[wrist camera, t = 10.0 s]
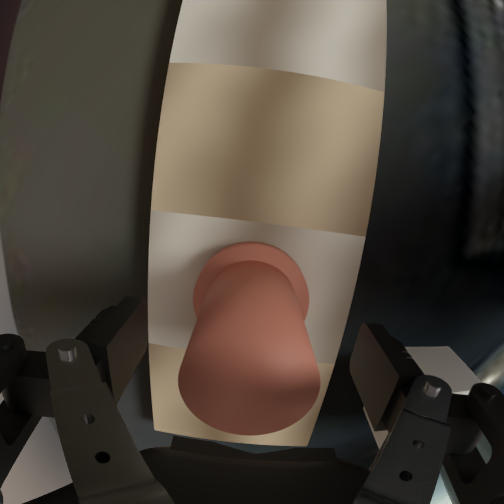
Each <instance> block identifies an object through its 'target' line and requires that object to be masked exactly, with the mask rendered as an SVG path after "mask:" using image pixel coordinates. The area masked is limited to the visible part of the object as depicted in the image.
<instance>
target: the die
mask: <svg viewBox="0 0 504 504" xmlns="http://www.w3.org/2000/svg"><path fill="white" fill-rule="evenodd" d="M405 348H406V350H407V353H409V354H410V355H411V356H412V359H414V360H415V362H416V363H417V365H418V366H419V367H420V369H421V370H422V371H423V373H424V374H425V375H432V376H436V377H438V378H440V379H442V380H444V381H445V382H447V383H448V384H449V386H450V387H451V389H452V393H455V394H463V395H468V394H469V392H470V390H471V388H472V386H473V385H474V384H476V383H482V382H481V381H480V380H479V379H478V377H477V376H476V375H475V374H474V373H473V372H472V371H471V370H470V369H469V368H468V367H467V365H466V364H465V363H464V362H463V361H462V360H461V359H460V358H459V357H458V356H457V355H456V354H455V353H454V352H453V350H452V349H451V348H450V347H449V346H443V347H405ZM363 410H364V413H365V415H366V418H367V420H368V423H369V425H370V428H371V430H372V433H373V435H374V438H375V440H376V443H377V445H378V448H379V450H380V448H381V446H382V444H383V442H384V440H385V438H386V437H387V435H388V431H387V430H385V431H374V429H373V427H372V424H371V422H370V419H369V417H368V415H367V412H366V410H365V407H363Z"/></svg>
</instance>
